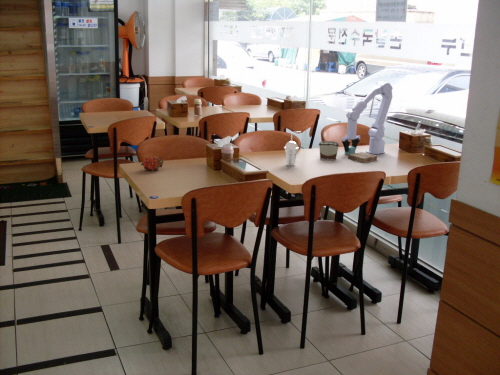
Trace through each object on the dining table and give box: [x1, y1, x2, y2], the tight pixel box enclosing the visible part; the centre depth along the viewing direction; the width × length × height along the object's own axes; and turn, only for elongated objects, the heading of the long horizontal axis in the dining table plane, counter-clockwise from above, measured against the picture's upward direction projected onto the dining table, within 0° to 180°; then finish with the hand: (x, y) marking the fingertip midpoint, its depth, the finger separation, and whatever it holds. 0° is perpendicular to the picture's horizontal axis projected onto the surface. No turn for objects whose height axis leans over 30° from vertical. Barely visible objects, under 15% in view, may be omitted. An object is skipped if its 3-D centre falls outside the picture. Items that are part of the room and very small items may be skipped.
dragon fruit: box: [140, 155, 164, 172], centre depth 288 cm, size 8×8×12 cm
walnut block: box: [347, 151, 378, 164], centre depth 323 cm, size 12×12×3 cm
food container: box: [318, 140, 340, 161], centre depth 323 cm, size 12×6×10 cm, turn 84°
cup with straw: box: [283, 130, 302, 166], centre depth 303 cm, size 8×9×20 cm
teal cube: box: [344, 145, 357, 156], centre depth 336 cm, size 4×4×4 cm
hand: (350, 151), depth 336 cm, fingers open, 6 cm apart
